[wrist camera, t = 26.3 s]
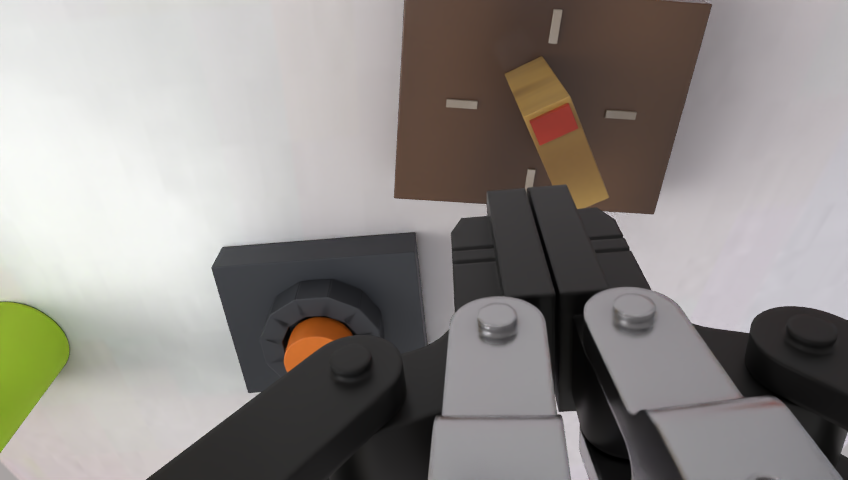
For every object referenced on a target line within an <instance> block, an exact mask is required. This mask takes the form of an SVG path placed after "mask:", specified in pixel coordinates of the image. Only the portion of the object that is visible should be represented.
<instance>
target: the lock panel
mask: <svg viewBox="0 0 848 480" xmlns="http://www.w3.org/2000/svg"><path fill="white" fill-rule="evenodd" d="M711 7H712V4H710V3H707V2H705V1H703V0H404V17H403V36H402V55H401V74H400V93H399V112H398V131H397V150H396V169H395V188H394V198H399V199H415V200H431V201H448V202H464V203H480V204H487V191H493V190H506V189H518V188H525V190H526V192H527V188H528V187H540V186H552V183H551V181H550V179H549V176H548V174H547V172H546V169H545V167H544V165H543V162H542V160H541V158H540V156H539V153H538V151H537V149H536V146H535V144H534V142H533V139H532V137H531V135H530V132H529V130H528V128H527V125H526V123H525V121H524V119H523V116H522V114H521V112H520V109H519V107H518V105H517V102H516V100H515V98H514V95H513V93H512V91H511V88H510V86H509V84H508V81H507V79H506V77H505V73H507V72H510V71H512V70H514V69H516V68H518V67H520V66H522V65H524V64H526V63H528V62H530V61H532V60H535V59H537V58H539V57H541V56H542V57H543V58H544V59H545V61H546V62H547V64H548V65H549V66H550V68H551V69H552V71H553V72H554V74H555V75H556V77H557V78H558V79H559V81H560V82H561V84H562V85H563V87H564V88H565V90H566V91H567V92H568V94H569V95H570V97H571V100H572V102H573V105H574V107H575V110H576V112H577V115H578V118H579V120H580V123H581V125H582V128H583V130H584V133H585V136H586V138H587V141H588V143H589V146H590V149H591V151H592V154H593V156H594V159H595V161H596V164H597V167H598V169H599V172H600V174H601V177H602V180H603V182H604V185H605V187H606V190H607V192H608V195H609V198H608V199H605V200H603V201H600V202H598V203H596V204H593V205H591V206H588V207H586V208H594V207H597V208H598V209H600V210H601V211H608V212H625V213H641V214H654V212H655V208H656V205H657V201H658V198H659V194H660V190H661V187H662V183H663V180H664V176H665V172H666V169H667V165H668V162H669V158H670V154H671V151H672V147H673V144H674V140H675V136H676V133H677V129H678V126H679V122H680V118H681V115H682V111H683V108H684V104H685V100H686V97H687V93H688V90H689V86H690V82H691V79H692V75H693V72H694V68H695V64H696V61H697V57H698V54H699V50H700V46H701V43H702V39H703V36H704V32H705V28H706V25H707V21H708V18H709V14H710V10H711Z"/></svg>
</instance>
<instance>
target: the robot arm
mask: <svg viewBox="0 0 848 480" xmlns="http://www.w3.org/2000/svg"><path fill="white" fill-rule="evenodd" d="M451 241H452V262H453V283H454V304H455V314H454V315H453V317H452V318H451V321H450V326H449V330H448V331H447V332H446V333H445V334H444V335H443V336H442V337H440V338H439V339H438V340H436V341H434V342H433V343H431V344H429V345H427V346H424V347H422V348H419V349H416V350H413V351H409V352H406V353H403V354H401V353H400V351H399V350H398V348H397V347H396V346H395V345H394V344H392V343H391V342H389V341H388V340H386V339H383V338H380V337H377V336H372V335H354V336H347V337H343V338H339V339H337V340H334V341H331V342H329V343H327V344H325V345H324V346H322V347H321V348H319V349H318V350H316V351H315V352H314V353H312V354H311V355H310V356H308V357H307V358H306V359H305V360H303V361H302V362H301V363H299V364H298V365H297V366H295V367H294V368H293V369H291V370H290V371H289V372H287V373H286V374H285V375H283V376H282V377H281V378H279V379H278V380H277V381H275V382H274V383H273V384H272V385H270V386H269V387H268V388H266V389H265V390H264V391H262V392H261V393H260V394H258V395H257V396H256V397H254V398H253V399H252V400H250V401H249V402H248V403H246V404H245V405H244V406H242V407H241V408H240V409H239V410H237V411H236V412H235V413H233V414H232V415H231V416H229V417H228V418H227V419H225V420H224V421H223V422H221V423H220V424H219V425H217V426H216V427H215V428H213V429H212V430H211V431H210V432H208V433H207V434H206V435H204V436H203V437H202V438H200V439H199V440H198V441H196V442H195V443H194V444H192V445H191V446H190V447H188V448H187V449H186V450H184V451H183V452H182V453H180V454H179V455H178V456H177V457H175V458H174V459H173V460H171V461H170V462H169V463H167V464H166V465H165V466H163V467H162V468H161V469H159V470H158V471H157V472H155V473H154V474H153V475H151V476H150V477H149V478H147V479H146V480H571V476H570V468H569V461H568V453H567V446H566V438H565V431H564V424H563V419H562V416H561V415H557V409H556V401H557V406H558V410H559V412H564V411H577V415H578V419H579V422H580V434H579V450H580V454H581V457H582V460H583V463H584V466H585V469H586V471H587V474H588V477H589V480H848V458H847V457H845V456H843V455H842V454H841V451H842V448H843V445H844V442H845V438H846V435H847V432H848V320H846V319H843V318H841V317H838V316H836V315H833V314H830V313H827V312H824V311H820V310H817V309H812V308H806V307H796V306H785V307H777V308H772V309H769V310H766V311H763V312H762V313H760V314H759V315H757V316H756V317H755V318H754V320H753V322H752V324H751V328H750V333H743V332H736V331H728V330H721V329H714V328H708V327H703V326H699V325H695V324H692V323H691V322H690V320H689V319H688V317H687V316H686V314H685V313H684V312H683V310H682V309H681V308H680V306H679V305H678V304H677V303H676V302H674V301H673V300H672V299H670V298H669V297H667V296H665V295H663V294H661V293H658V292H655V291H652V290H651V288H650V286H649V284H648V282H647V281H646V279H645V277H644V275H643V273H642V271H641V269H640V267H639V265H638V263H637V261H636V259H635V257H634V256H633V254H632V252H631V251H630V250H629V246H628V244H627V242H626V240H625V238H623V234H622V232H621V231H620V229H619V227H618V225H617V223H616V221H615V219H613V218H612V217H610V216H609V215H607V214H606V213H604V212H603V211H601V210H600V209H598V208H597V207H594V208H582V209H577V208H576V205H575V203H574V201H573V198H572V196H571V193H570V191H569V189H568V187H567V185H566V184H565V185H552V186H540V187H528V188H527V192H526V190H525V188H518V189H506V190H493V191H487V216H484V217H471V218H461V220H460V221H459V222H458V224H457V225H456V227H455V228H454V229H453V231H452V232H451ZM555 397H556V401H555Z"/></svg>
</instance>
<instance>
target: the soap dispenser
mask: <svg viewBox="0 0 848 480" xmlns="http://www.w3.org/2000/svg"><path fill="white" fill-rule="evenodd" d="M68 358H69V344H68V340H67V338H66V336H65V334H64V332H63V331H62V330H61V328H60V327H59V326H58V325H57V324H56V323H55V322H54V321H53V320H52V319H51V318H49V317H48V316H47V315H45V314H44V313H42V312H40V311H38V310H36V309H34V308H32V307H29V306H26V305H23V304H19V303H13V302H0V453H1V451H2V450H3V448H4V447H5V446H6V444H7V443H8V442H9V440H10V439H11V438H12V436H13V435H14V434H15V432H16V431H17V429H18V428H19V427H20V425H21V424H22V423H23V421H24V420H25V419H26V417H27V416H28V415H29V413H30V412H31V410H32V409H33V408H34V406H35V405H36V404H37V402H38V401H39V400H40V398H41V397H42V396H43V394H44V393H45V391H46V390H47V389H48V387H49V386H50V385H51V383H52V382H53V381H54V379H55V378H56V377H57V375H58V374H59V372H60V371H61V370H62V368H63V367H64V366H65V364H66V363H67V360H68Z"/></svg>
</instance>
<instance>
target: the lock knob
mask: <svg viewBox="0 0 848 480" xmlns="http://www.w3.org/2000/svg"><path fill="white" fill-rule="evenodd" d="M505 77H506V79H507V81H508V84H509V86H510V88H511V91H512V93H513V95H514V98H515V100H516V102H517V105H518V107H519V109H520V112H521V114H522V116H523V119H524V121H525V123H526V125H527V128H528V130H529V132H530V135H531V137H532V139H533V142H534V144H535V146H536V149H537V151H538V153H539V156H540V158H541V160H542V162H543V165H544V167H545V169H546V172H547V174H548V176H549V179H550V181H551V183H552V185H565V184H566V185H567V187H568V189H569V191H570V193H571V196H572V198H573V201H574V203H575V205H576V208H577V209H582V208H586V207H588V206H591V205H593V204H596V203H598V202H600V201H603V200H605V199H608V198H609V195H608V192H607V190H606V187H605V185H604V182H603V180H602V177H601V174H600V172H599V169H598V167H597V164H596V161H595V159H594V156H593V154H592V151H591V149H590V146H589V143H588V141H587V138H586V136H585V133H584V130H583V128H582V125H581V123H580V120H579V118H578V115H577V112H576V110H575V107H574V105H573V102H572V100H571V97H570V95H569V94H568V92H567V91H566V90H565V88H564V87H563V85H562V84H561V82H560V81H559V79H558V78H557V77H556V75H555V74H554V72H553V71H552V69H551V68H550V66H549V65H548V64H547V62H546V61H545V59H544V58H543V57H542V56H541V57H539V58H537V59H535V60H532V61H530V62H528V63H526V64H524V65H522V66H520V67H518V68H516V69H514V70H512V71H510V72H507V73H505Z"/></svg>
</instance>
